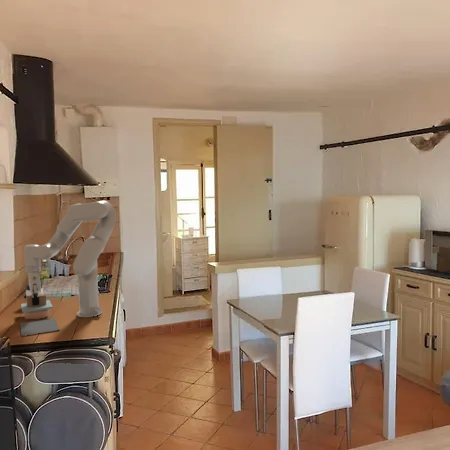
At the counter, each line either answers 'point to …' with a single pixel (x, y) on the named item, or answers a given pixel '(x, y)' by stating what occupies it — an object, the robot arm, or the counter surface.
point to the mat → (38, 326)
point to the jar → (30, 291)
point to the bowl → (37, 314)
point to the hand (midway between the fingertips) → (35, 303)
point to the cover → (42, 305)
